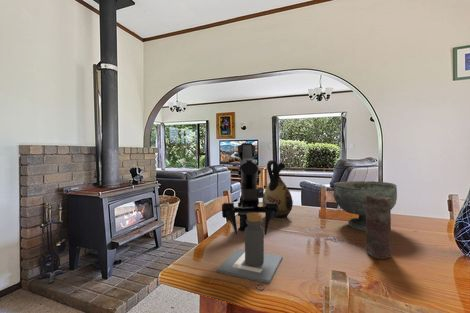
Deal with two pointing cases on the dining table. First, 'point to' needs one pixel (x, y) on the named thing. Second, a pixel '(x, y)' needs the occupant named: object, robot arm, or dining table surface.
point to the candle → (378, 226)
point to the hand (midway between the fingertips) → (251, 234)
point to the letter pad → (240, 269)
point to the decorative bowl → (361, 198)
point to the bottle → (254, 240)
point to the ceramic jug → (277, 191)
